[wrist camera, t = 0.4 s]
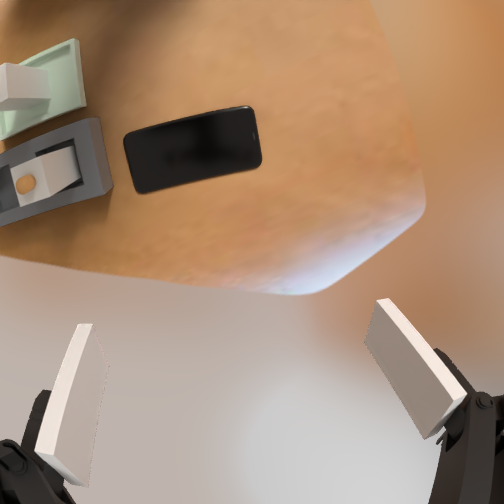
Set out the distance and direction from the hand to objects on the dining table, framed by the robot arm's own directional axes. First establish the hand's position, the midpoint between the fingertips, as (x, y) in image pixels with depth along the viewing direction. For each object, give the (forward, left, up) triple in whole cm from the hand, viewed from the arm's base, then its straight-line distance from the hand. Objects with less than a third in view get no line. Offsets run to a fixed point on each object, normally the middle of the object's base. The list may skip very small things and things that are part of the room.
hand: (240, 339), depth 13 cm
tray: (-19, -20, -27) cm, 38 cm away
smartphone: (-6, -2, -27) cm, 28 cm away
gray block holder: (-8, -22, -27) cm, 35 cm away
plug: (-19, -20, -26) cm, 38 cm away
